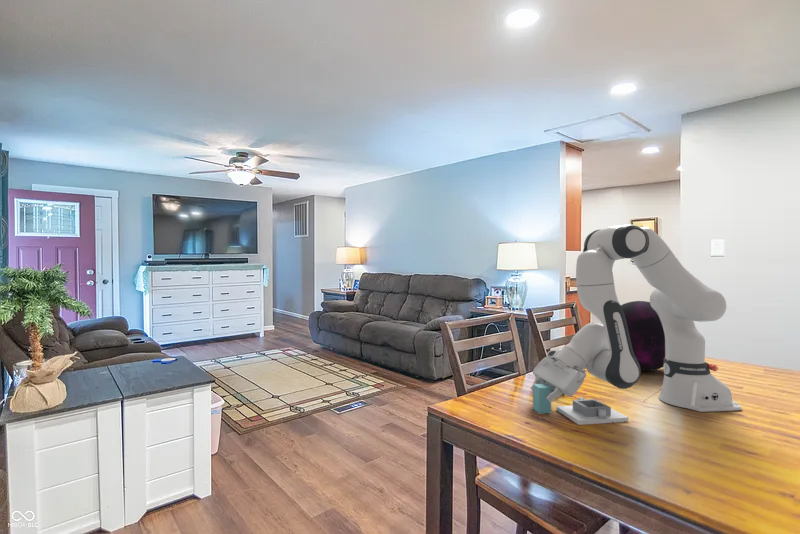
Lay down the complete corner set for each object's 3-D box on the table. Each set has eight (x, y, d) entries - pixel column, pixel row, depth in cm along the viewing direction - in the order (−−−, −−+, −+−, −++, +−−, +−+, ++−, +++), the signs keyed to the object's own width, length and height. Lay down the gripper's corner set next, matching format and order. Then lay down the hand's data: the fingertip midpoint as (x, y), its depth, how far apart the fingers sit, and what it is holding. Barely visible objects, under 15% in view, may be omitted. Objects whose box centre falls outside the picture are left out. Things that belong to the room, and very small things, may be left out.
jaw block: (544, 408, 133) (544, 383, 133) (551, 412, 130) (551, 387, 129) (532, 409, 133) (533, 384, 133) (539, 413, 129) (539, 387, 129)
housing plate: (601, 407, 135) (601, 395, 135) (628, 421, 122) (629, 409, 122) (556, 409, 132) (556, 398, 132) (579, 425, 120) (579, 412, 120)
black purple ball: (699, 379, 167) (700, 304, 166) (624, 378, 167) (625, 304, 167) (654, 361, 197) (655, 298, 196) (590, 361, 197) (591, 297, 197)
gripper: (595, 379, 123) (564, 413, 121) (558, 362, 143) (531, 391, 141) (582, 364, 122) (550, 399, 120) (546, 349, 142) (519, 379, 141)
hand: (539, 395), depth 131 cm, fingers open, 8 cm apart
